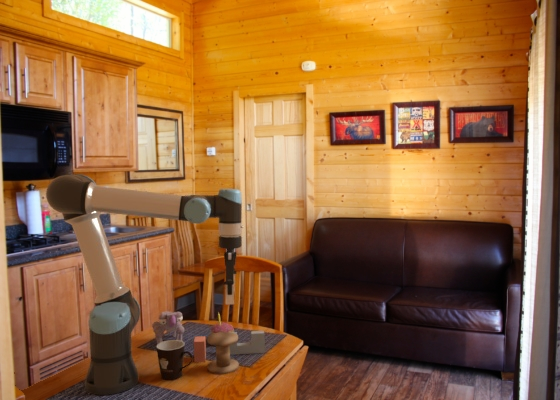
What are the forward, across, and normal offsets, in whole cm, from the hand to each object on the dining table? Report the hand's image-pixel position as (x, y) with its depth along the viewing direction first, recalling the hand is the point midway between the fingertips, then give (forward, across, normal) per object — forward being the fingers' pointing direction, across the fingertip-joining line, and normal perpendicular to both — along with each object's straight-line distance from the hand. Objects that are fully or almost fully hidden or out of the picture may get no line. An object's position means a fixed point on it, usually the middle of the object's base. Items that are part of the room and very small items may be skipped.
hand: (230, 298), depth 164 cm
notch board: (+21, +5, -5) cm, 22 cm away
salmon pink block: (+21, +1, +10) cm, 23 cm away
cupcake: (+21, +16, +3) cm, 27 cm away
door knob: (+21, -7, +2) cm, 22 cm away
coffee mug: (+21, -13, +17) cm, 30 cm away
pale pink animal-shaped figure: (+22, +15, +22) cm, 34 cm away
